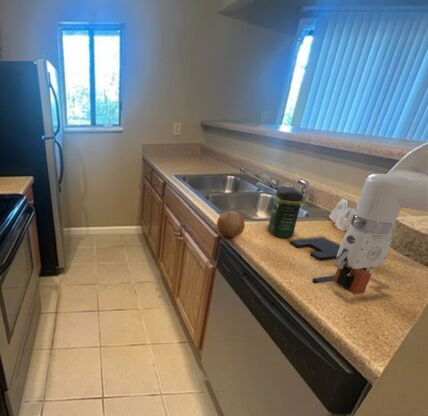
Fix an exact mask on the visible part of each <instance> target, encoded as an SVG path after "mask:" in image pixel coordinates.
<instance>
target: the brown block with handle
mask: <svg viewBox="0 0 428 416" xmlns="http://www.w3.org/2000/svg"><path fill="white" fill-rule="evenodd" d="M346 267H347V268H348V269H350V267H349V266H346ZM336 268H337V267H336ZM339 274H340V271H339V268H337V269H336V272H335V275H328V276H322V277H320V276H319V277H314V278H312V281H311V282H312V283H314V284H322V283H330V282H335V283H336V284H338V283H337V279H338V276H339ZM352 276H353V277H354V279H353V281H352V284H351V287H350V289H347V291H349V292H351V293H352V294H354V295H357V294H364V293H365V291H366V288H367V286H368V284H369V282H370V279H371V276H372V272H370V271H369V272H368V271H366V270H364V269H362V268H361V269H355V271H354V274H353V275H352Z"/></svg>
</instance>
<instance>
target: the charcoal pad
mask: <svg viewBox="0 0 428 416" xmlns="http://www.w3.org/2000/svg"><path fill="white" fill-rule="evenodd" d="M289 245H291V246H292V247H295V248H296V249H303V248H311V249H313V250H314V251H311V252H310V253H309V256H310V257H312V258H313V259H315V260H317V261H318V262H321V261H329V260H337V253H338V250H339V247H340V245H341V244H340V245H339V244H338V243H335V242H333V241H332V240H329V239H328V238H325V237H323V236H322V237H313V238H305V239H303V238H302V239H296V240H290V242H289Z"/></svg>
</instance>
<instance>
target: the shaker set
mask: <svg viewBox="0 0 428 416" xmlns="http://www.w3.org/2000/svg"><path fill="white" fill-rule="evenodd" d="M348 204H349V203H348V199H344V198H343V199H341V200H340V201H339V202H338V203H337V204H336V206H335V207H334V208H333V210H332V211H331V213H329V216H328V218H329V219H330V220H331V221H332V222H334V226H335V227H336V229H338V230H339V231H342V232H347V231H348V229H349V227H351V226H350V224H351V221H352V218H353V215H354V213H355V210H356V208H353V207H348Z"/></svg>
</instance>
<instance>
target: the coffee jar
mask: <svg viewBox="0 0 428 416" xmlns="http://www.w3.org/2000/svg"><path fill="white" fill-rule="evenodd" d="M303 199H304V194H303V192H301V191H299V190H298V189H296V188H294V187H293V186H282V185H281V187H278V188H277V190H276V192H275V196H274V202H273V207H272V211H271V214H270V219H269V221H268V222H269V223H268V227H267V230H268V232H269V233H270V235H272V236H273V237H278V238H281V239H289V238H290V239H291V238H292V237H293V236H294V232H295V228H296V224H297V220H298V218H299V217H298V216H299V213H300V209H301V205H302V203H303Z"/></svg>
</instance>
